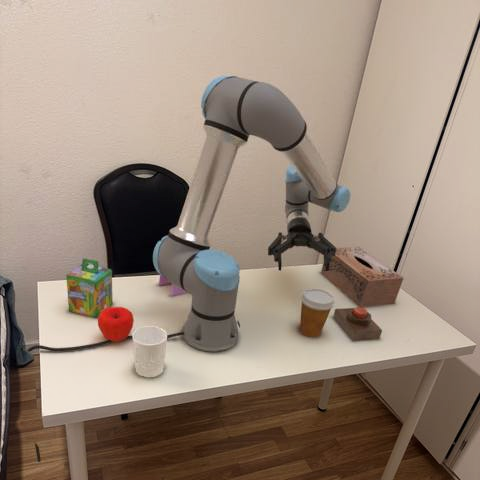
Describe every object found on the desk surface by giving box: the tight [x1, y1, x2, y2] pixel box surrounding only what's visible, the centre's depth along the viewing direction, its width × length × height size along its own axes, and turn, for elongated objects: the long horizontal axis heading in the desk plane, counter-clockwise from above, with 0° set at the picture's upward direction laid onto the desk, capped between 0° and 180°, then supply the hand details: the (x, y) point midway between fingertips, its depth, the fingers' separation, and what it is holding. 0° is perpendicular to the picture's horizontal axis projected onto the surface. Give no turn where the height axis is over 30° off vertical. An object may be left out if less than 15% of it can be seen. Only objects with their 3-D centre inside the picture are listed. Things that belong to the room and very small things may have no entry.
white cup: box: [131, 325, 168, 378], centre depth 103 cm, size 8×8×10 cm
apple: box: [97, 306, 135, 342], centre depth 113 cm, size 9×9×8 cm
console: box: [332, 307, 383, 342], centre depth 132 cm, size 9×13×5 cm
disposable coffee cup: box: [299, 288, 335, 338], centre depth 126 cm, size 10×10×12 cm
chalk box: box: [65, 258, 114, 319], centre depth 122 cm, size 9×9×15 cm
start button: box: [353, 306, 369, 318], centre depth 131 cm, size 4×4×2 cm
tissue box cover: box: [320, 246, 404, 308], centre depth 155 cm, size 26×14×10 cm, turn 22°
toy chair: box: [157, 274, 187, 297], centre depth 137 cm, size 8×9×15 cm
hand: (303, 267), depth 125 cm, fingers open, 13 cm apart
